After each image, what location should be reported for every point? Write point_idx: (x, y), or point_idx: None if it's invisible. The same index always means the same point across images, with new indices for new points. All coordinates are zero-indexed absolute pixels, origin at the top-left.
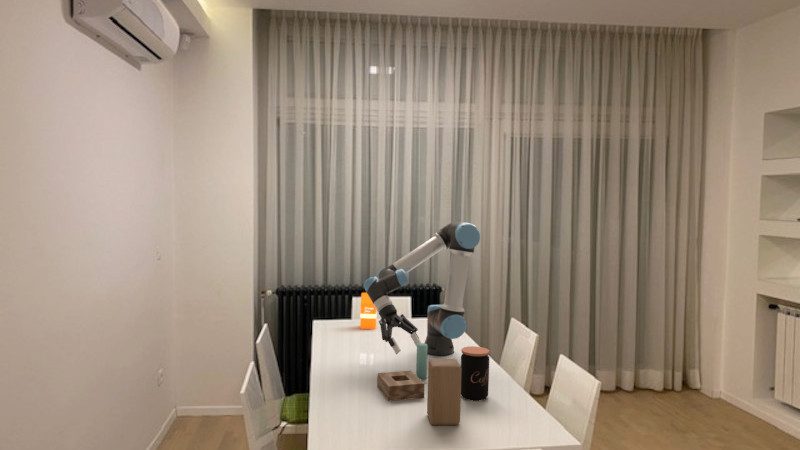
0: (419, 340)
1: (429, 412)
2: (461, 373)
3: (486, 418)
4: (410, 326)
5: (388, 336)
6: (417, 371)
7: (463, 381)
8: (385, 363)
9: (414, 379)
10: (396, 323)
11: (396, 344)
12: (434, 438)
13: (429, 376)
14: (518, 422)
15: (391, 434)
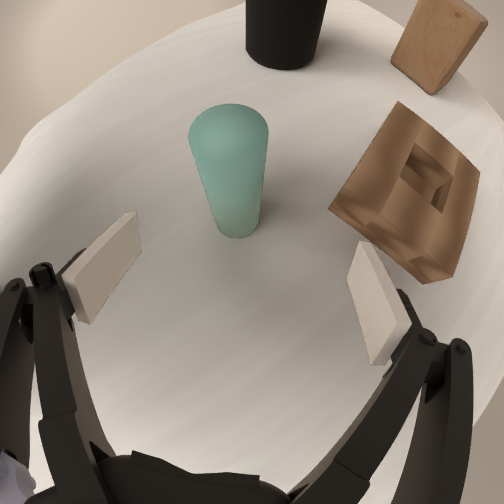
0: (110, 228)
1: (448, 79)
2: (317, 20)
3: (355, 30)
4: (16, 345)
5: (432, 351)
6: (259, 212)
7: (319, 30)
8: (177, 441)
9: (402, 133)
10: (191, 486)
11: (383, 272)
12: (457, 76)
13: (474, 40)
14: (327, 8)
15: (496, 125)
